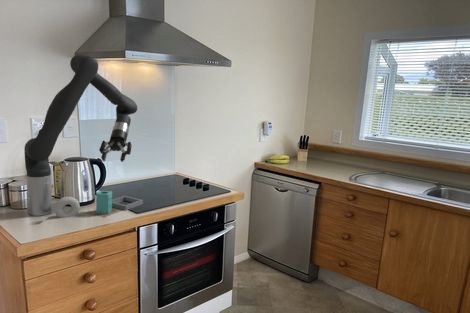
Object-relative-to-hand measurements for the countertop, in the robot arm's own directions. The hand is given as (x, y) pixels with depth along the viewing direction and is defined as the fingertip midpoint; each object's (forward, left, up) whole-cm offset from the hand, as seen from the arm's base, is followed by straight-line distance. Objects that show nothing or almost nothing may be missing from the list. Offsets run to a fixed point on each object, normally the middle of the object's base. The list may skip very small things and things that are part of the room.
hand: (112, 160), depth 164 cm
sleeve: (+5, -10, -22) cm, 24 cm away
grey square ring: (+5, +3, -23) cm, 24 cm away
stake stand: (+5, -10, -23) cm, 25 cm away
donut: (-4, -22, -23) cm, 32 cm away
